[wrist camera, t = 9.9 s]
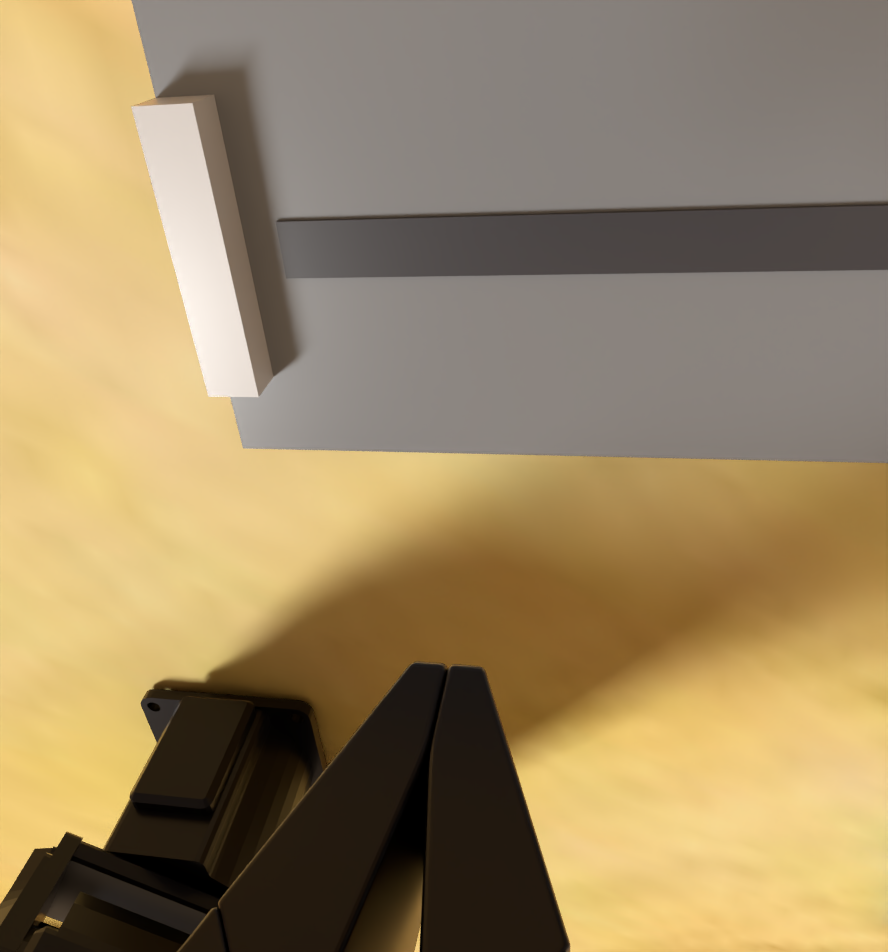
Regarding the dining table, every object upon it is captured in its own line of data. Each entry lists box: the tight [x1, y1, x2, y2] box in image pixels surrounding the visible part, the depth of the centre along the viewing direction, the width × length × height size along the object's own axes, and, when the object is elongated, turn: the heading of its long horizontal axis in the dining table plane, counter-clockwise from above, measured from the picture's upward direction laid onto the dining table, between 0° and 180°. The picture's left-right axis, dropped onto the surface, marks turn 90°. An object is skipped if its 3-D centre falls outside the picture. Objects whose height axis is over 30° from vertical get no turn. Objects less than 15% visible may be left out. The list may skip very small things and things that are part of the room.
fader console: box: [131, 0, 888, 463], centre depth 15 cm, size 10×26×3 cm, turn 94°
